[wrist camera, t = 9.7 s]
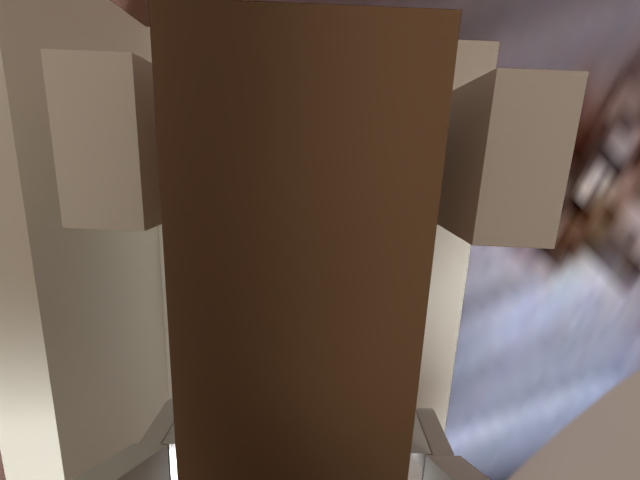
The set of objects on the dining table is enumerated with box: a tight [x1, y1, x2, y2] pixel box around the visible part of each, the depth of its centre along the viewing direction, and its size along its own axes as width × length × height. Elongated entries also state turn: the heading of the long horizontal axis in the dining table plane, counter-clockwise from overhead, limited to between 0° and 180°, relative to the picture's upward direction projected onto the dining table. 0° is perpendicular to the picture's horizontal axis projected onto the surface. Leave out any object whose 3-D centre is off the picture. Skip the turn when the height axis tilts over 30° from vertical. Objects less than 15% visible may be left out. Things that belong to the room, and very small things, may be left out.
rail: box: [148, 0, 462, 480], centre depth 9 cm, size 4×18×5 cm, turn 178°
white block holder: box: [0, 0, 589, 480], centre depth 12 cm, size 14×22×8 cm, turn 178°
